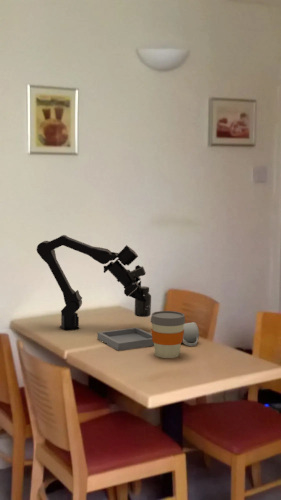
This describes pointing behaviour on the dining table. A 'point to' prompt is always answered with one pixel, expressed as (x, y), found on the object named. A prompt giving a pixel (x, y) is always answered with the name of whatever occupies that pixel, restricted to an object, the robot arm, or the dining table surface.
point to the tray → (126, 338)
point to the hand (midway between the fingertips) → (146, 300)
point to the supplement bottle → (141, 307)
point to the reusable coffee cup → (167, 333)
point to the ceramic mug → (190, 334)
